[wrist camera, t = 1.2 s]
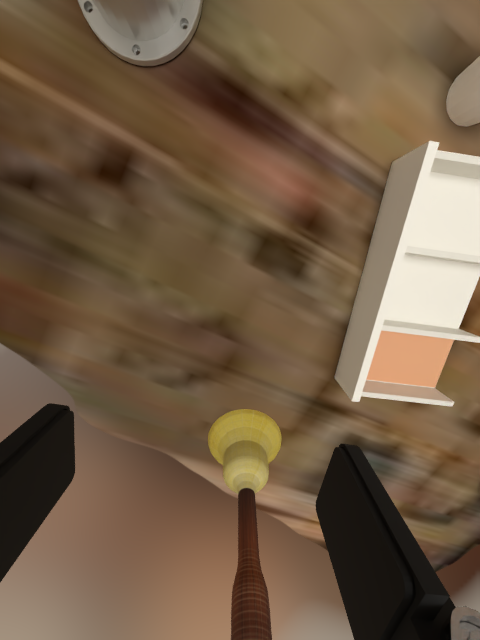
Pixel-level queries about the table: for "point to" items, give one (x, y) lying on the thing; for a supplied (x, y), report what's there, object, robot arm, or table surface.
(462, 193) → the rack
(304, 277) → the table surface
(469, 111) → the white and grey cylinder
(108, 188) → the table surface
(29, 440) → the robot arm
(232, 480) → the handbell
